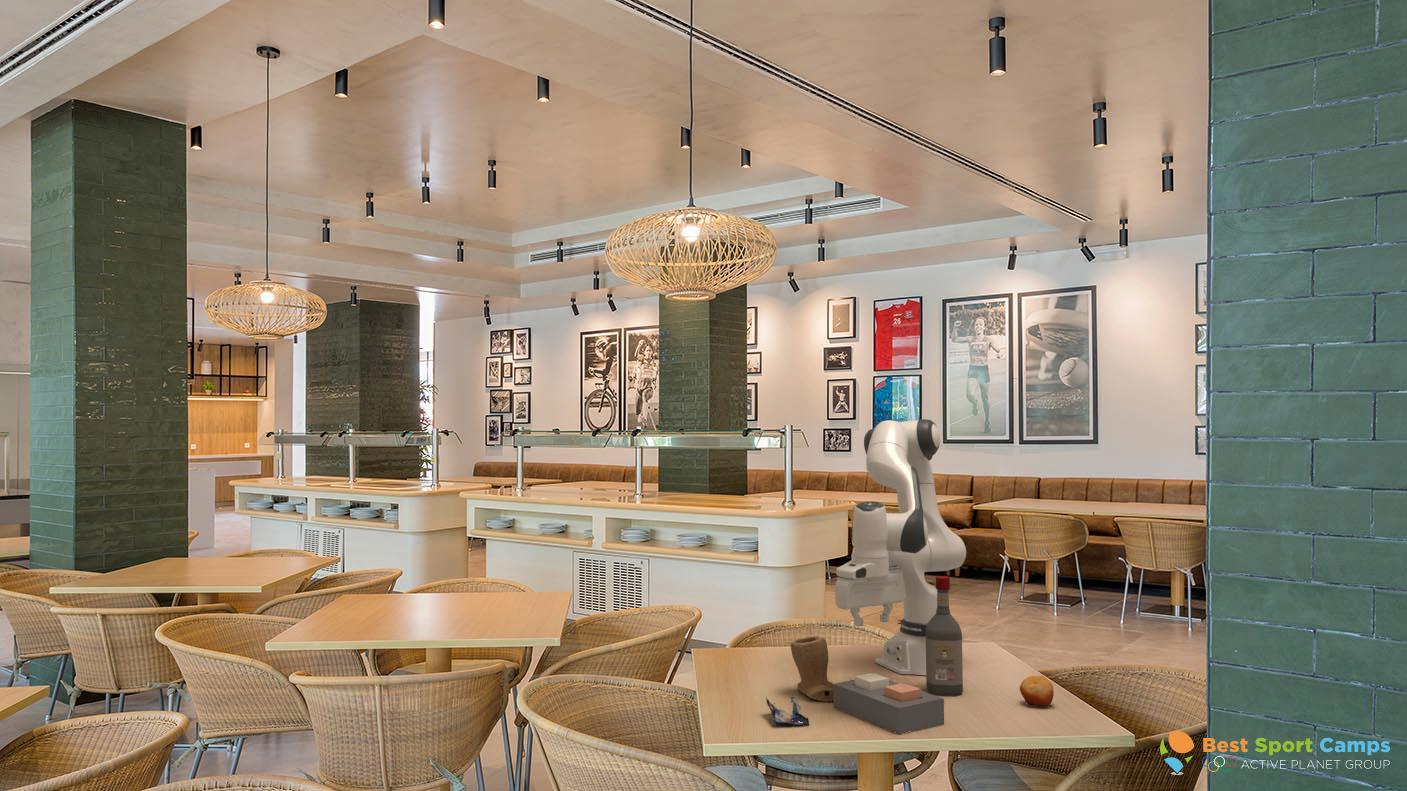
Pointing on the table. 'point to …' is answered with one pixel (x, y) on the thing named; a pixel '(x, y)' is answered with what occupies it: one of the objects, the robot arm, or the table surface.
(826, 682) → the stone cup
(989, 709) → the table surface
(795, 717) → the dark blue forked piece
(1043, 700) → the fruit
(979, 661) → the table surface
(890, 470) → the robot arm
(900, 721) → the key panel
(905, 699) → the terracotta key
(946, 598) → the liquor
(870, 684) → the off-white key
